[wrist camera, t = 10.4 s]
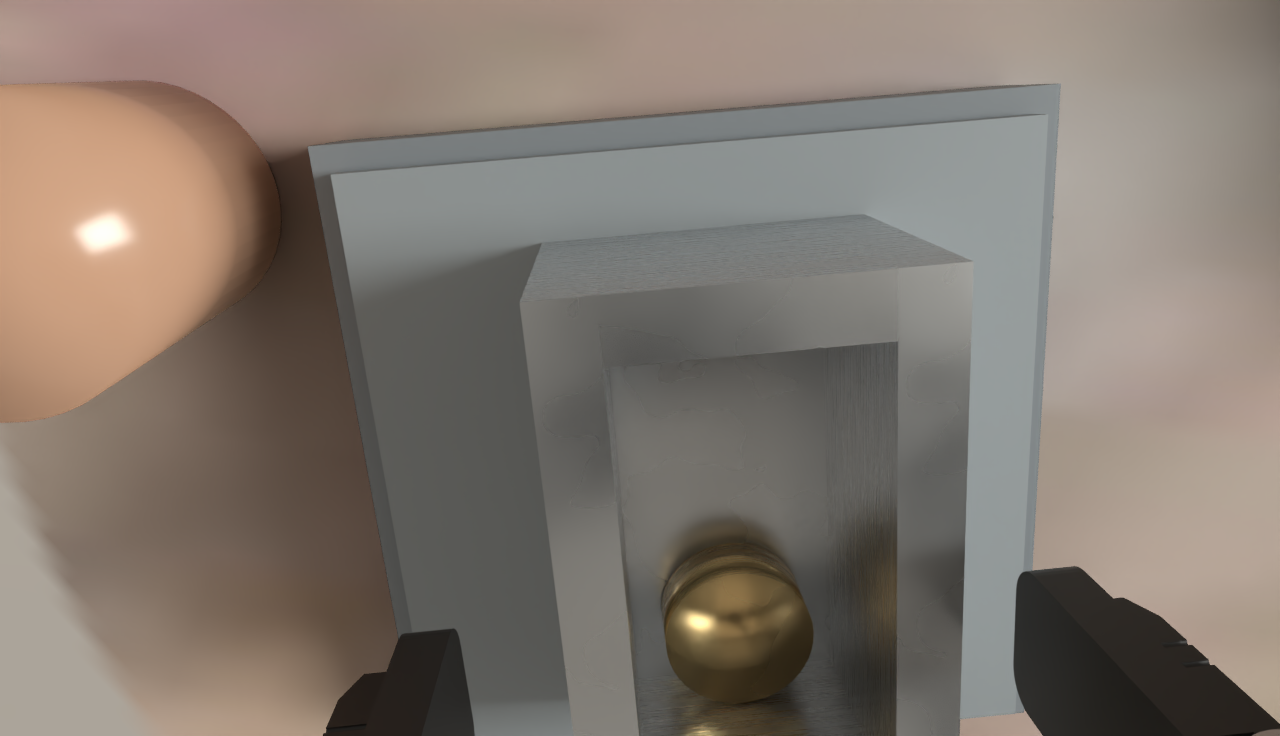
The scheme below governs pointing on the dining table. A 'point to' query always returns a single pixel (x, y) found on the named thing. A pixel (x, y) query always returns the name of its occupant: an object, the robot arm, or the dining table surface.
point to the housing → (755, 476)
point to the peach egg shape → (118, 232)
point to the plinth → (637, 204)
